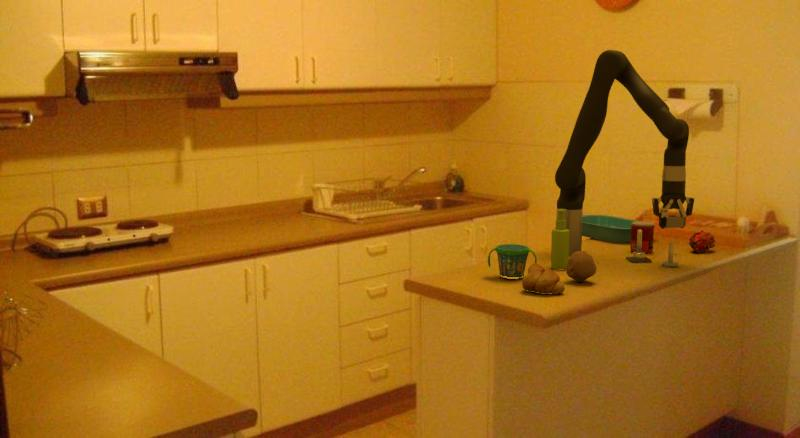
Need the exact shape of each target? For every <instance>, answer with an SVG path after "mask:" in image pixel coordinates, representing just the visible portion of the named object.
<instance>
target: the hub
mask: <svg viewBox="0 0 800 438" xmlns="http://www.w3.org/2000/svg"><path fill="white" fill-rule="evenodd" d="M674 244H675V243H674V242H672V241H671V242H668V252H667V253H668V254H667V255H668V256H667V257H668V258H667V260H664V261H662V267H664V268H665V267H666V268H678V267H679V262H678V261H675V260H674V250H675V249H674V246H675V245H674Z"/></svg>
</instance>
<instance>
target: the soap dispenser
mask: <svg viewBox="0 0 800 438" xmlns="http://www.w3.org/2000/svg"><path fill="white" fill-rule="evenodd" d="M564 211H567V209H559V210H557V209H556V213H557V212H559V214H558V219H557V218H556V219H555V228H556V229H555V228H552V229H551V248H550V249H551V255H550V257H551V258H550V260H551V261H550V269H552V268H554V269H553V270H557V269H565V270H566V268H567V264H568V260H569V258H570V257H569V233H570V230H568V229H566V219H564Z"/></svg>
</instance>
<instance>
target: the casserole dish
mask: <svg viewBox="0 0 800 438" xmlns="http://www.w3.org/2000/svg"><path fill="white" fill-rule="evenodd" d="M638 221H639V220H636V219H632V218H626V217H620V216H615V215H614V216H613V215H609V214H608V215H607V214H583V215H582V237H585V238H589V239H595V240H599V241H604V242H609V243H613V244H614V243H615V244H620V245H621V244H622V245H624V244H631V224H632V222H638ZM640 221H641V220H640ZM641 222H644V221H641ZM655 227H656V224H655V223H654V228H655Z"/></svg>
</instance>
